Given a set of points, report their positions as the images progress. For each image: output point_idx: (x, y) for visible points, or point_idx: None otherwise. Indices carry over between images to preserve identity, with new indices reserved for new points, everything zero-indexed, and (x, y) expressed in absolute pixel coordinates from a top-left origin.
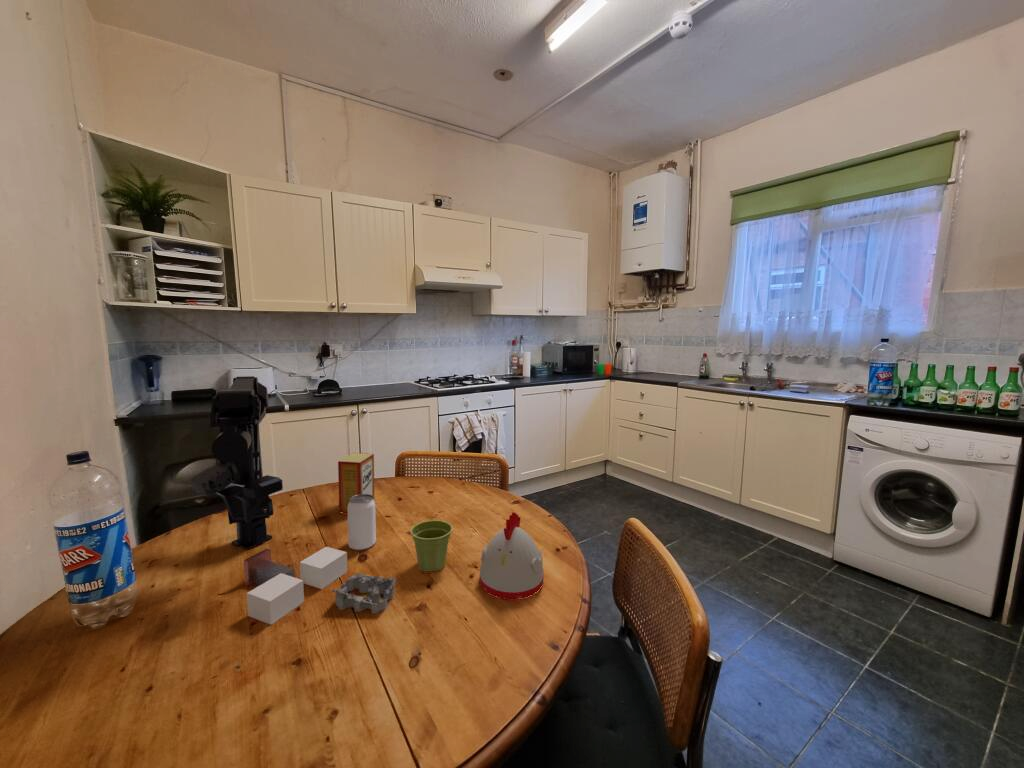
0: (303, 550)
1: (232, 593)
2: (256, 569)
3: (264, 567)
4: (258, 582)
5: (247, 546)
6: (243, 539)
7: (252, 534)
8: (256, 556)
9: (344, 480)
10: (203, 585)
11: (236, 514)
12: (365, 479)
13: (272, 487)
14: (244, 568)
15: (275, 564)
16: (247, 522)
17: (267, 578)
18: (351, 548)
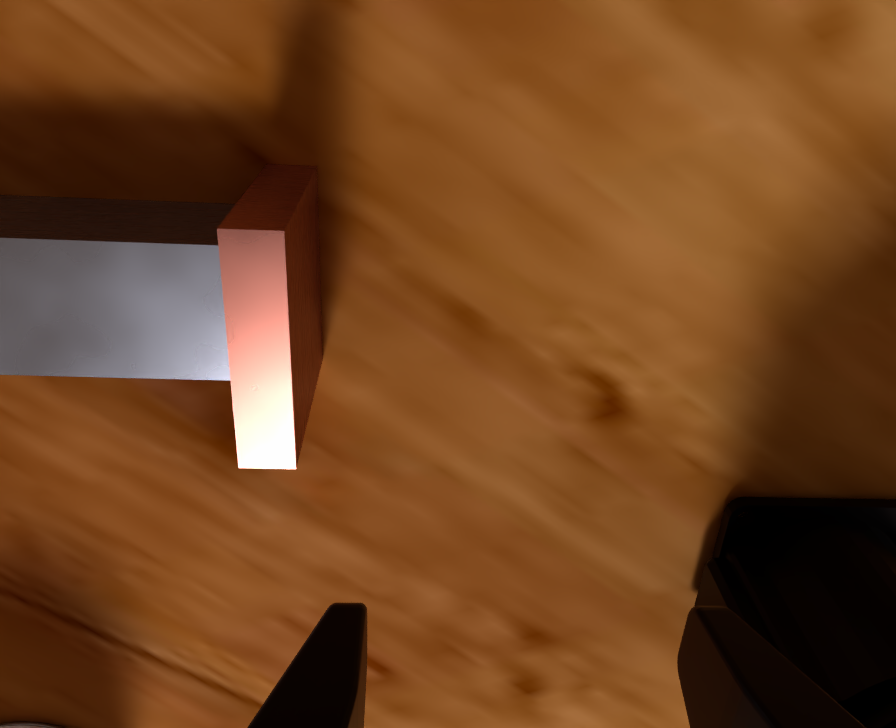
0: None
1: (268, 15)
2: (188, 242)
3: (150, 292)
4: (203, 206)
5: (754, 513)
6: (827, 550)
7: (772, 607)
8: (233, 330)
9: None
10: (629, 5)
11: (700, 699)
12: None
13: None
14: (293, 203)
15: (111, 362)
16: (334, 608)
17: (57, 220)
18: (48, 725)
